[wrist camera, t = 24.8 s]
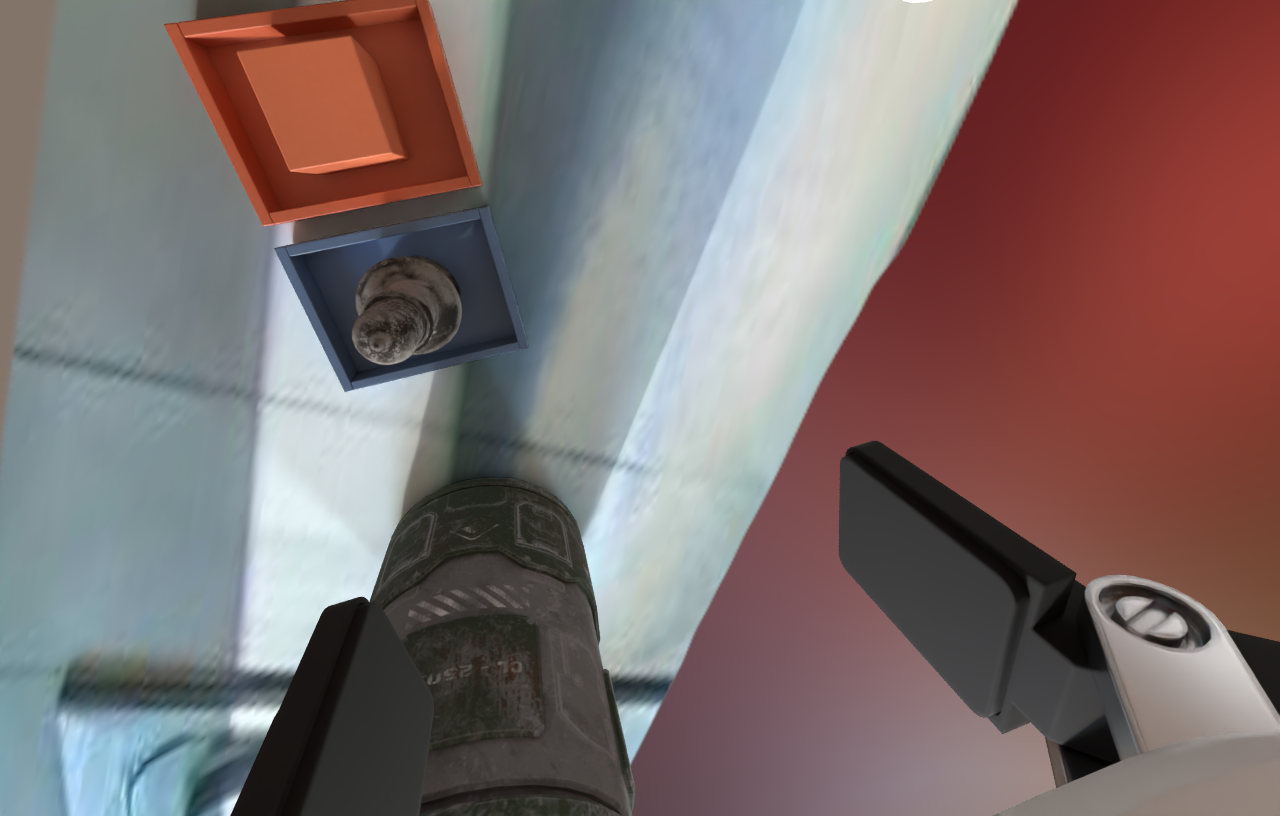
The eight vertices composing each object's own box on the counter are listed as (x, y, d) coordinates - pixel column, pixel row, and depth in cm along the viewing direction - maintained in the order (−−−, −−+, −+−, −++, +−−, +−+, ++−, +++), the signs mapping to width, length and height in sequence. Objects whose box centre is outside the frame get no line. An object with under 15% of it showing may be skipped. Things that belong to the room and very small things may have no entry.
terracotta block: (376, 60, 27) (350, 33, 22) (410, 159, 29) (393, 153, 25) (281, 74, 26) (234, 50, 22) (323, 175, 28) (289, 171, 24)
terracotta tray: (431, 6, 27) (424, -10, 25) (483, 185, 31) (481, 184, 29) (193, 38, 25) (162, 23, 23) (281, 223, 29) (262, 226, 27)
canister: (608, 495, 43) (745, 913, 18) (543, 627, 47) (582, 1110, 22) (422, 447, 37) (245, 972, 12) (367, 603, 41) (155, 1224, 16)
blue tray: (488, 205, 31) (487, 206, 29) (527, 338, 36) (528, 347, 33) (290, 244, 30) (273, 248, 27) (355, 379, 34) (344, 392, 32)
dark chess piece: (354, 262, 30) (271, 299, 20) (447, 241, 31) (416, 265, 21) (393, 348, 33) (338, 422, 22) (478, 327, 34) (464, 388, 23)
